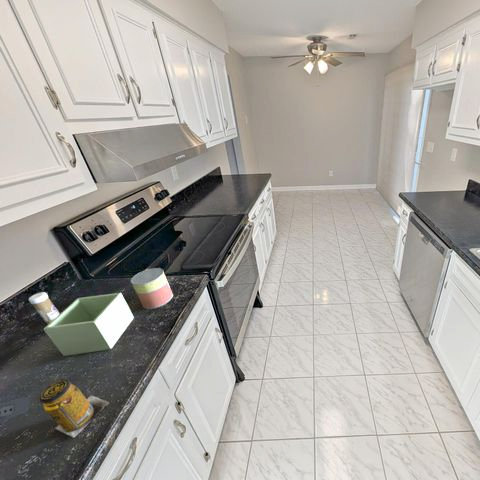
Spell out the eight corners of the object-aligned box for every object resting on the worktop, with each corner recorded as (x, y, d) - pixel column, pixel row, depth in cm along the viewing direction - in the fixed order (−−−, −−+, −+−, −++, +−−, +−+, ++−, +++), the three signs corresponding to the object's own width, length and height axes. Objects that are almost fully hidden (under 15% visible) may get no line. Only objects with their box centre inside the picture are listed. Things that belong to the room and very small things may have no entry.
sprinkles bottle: (63, 324, 96) (44, 296, 90) (47, 330, 93) (26, 301, 87) (65, 317, 99) (46, 290, 93) (50, 323, 97) (29, 295, 91)
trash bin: (63, 356, 82) (43, 329, 77) (93, 323, 95) (77, 298, 90) (111, 349, 83) (94, 322, 78) (134, 317, 96) (121, 292, 91)
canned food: (178, 296, 107) (168, 272, 101) (150, 312, 98) (138, 287, 93) (164, 288, 113) (155, 265, 107) (137, 302, 104) (125, 278, 99)
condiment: (55, 429, 62) (26, 399, 57) (91, 395, 69) (69, 366, 64) (74, 438, 60) (47, 408, 55) (110, 403, 67) (89, 373, 62)
